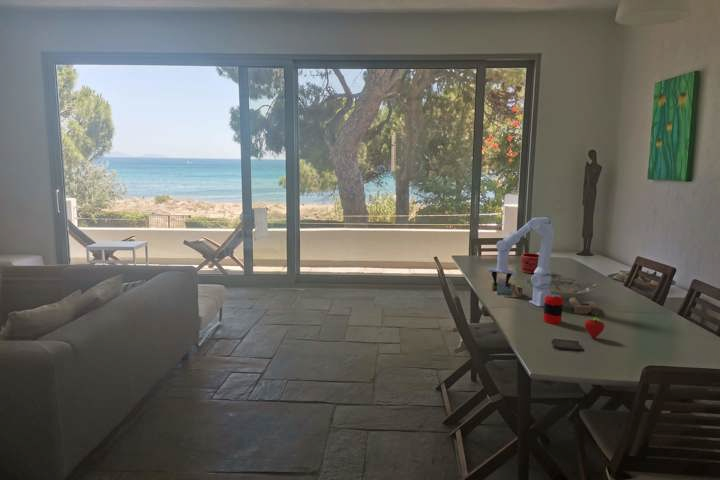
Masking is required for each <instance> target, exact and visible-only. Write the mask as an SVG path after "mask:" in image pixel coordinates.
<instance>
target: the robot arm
mask: <svg viewBox="0 0 720 480" xmlns="http://www.w3.org/2000/svg"><path fill="white" fill-rule="evenodd" d="M532 230H533V232H536V233H537V234H538V235H539V236H540V237H541V240H540V241H541V242H540V246H539V247H540V248H539V259H538V266H537V268H536V270H535V271H534V274H532V276H531V278H530V283H531V284H532V287H533V288H532V298H531V300H528V302H529V303H530V304H533V305H535V306H537V307H544V304H545V297H546V296H547V295H548V294H552V291H551V290H550V289H549V287H550V284H551V283H552V279H553V277H552V270H550V263H551V257H552V251H553V244H554V237H555V232H554V230H553V222H552V220H551V219H550V218H549V217H547V216H544V217H532V218H531V220H528V221H527V223H525V224H524V225H523V226H522V227H521V228H519V229H518V230H517V231H513V232H509V234H508V235H507V236H506V237H503V239H502V240H498V241H497V242H496V244H495V247H496V249H497V259H496V262H497V263H496V268H492V267H489V268H487V272H488V273H491V276H492V279H493V282H494V284H495V286H496V283H497V282H498V281H497V280H498V274H504V275H505V279H506V284H508V282H510V279H511V277H512V276H516V275H517V270H511V269H508V268H509V257H510V256H509V254H510V252H511V251H510V250H511V249H513V246H515V245H516V244H518V242H520V241H521V238H522V237H523V236H525V235H526V234H527V233H529V232H531V231H532Z"/></svg>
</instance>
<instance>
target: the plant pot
mask: <svg viewBox="0 0 720 480" xmlns="http://www.w3.org/2000/svg"><path fill="white" fill-rule="evenodd" d="M538 259H539V254H537V253H533V252H532V253H531V252H529V253H528V252H527V253H521V257H520V262H521V263H520V264H521V267H522V268H521V269H520V270H521V271H522V272H523V273H525V272H526V273H525V274H528V273H534V271H535V270H536V268H537V266H538Z"/></svg>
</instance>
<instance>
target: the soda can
mask: <svg viewBox="0 0 720 480" xmlns="http://www.w3.org/2000/svg"><path fill="white" fill-rule="evenodd" d="M563 304H564V299H563V296H561V295H560V294H554V293H551V294H548V295H547V296H546V297H545V304H544V306H543V307H544V308H543V318H542V320H543V322H545V323H547V324H551V325H558V324H561V323H562V318H563V317H562V316H563V306H564V305H563Z"/></svg>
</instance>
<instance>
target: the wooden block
mask: <svg viewBox="0 0 720 480" xmlns="http://www.w3.org/2000/svg"><path fill="white" fill-rule="evenodd" d="M568 300H569V303H570V305H571V307H572V308H573V313H574V314H578V315H588V314H590V315H591V316H599V315H600V312H601V308H600V307H599V306H598V305H597V303H596V302H595V300H590V301H585V302H579V301H578V299H577V298H576V297H574V296H573V297H570V298H569V299H568Z"/></svg>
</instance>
